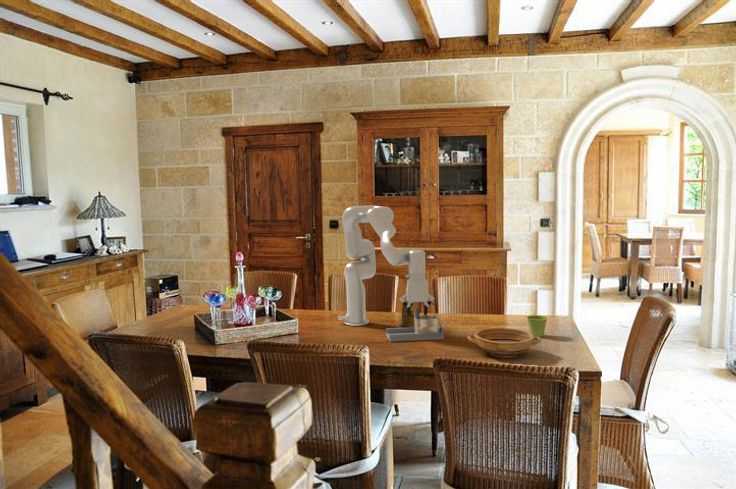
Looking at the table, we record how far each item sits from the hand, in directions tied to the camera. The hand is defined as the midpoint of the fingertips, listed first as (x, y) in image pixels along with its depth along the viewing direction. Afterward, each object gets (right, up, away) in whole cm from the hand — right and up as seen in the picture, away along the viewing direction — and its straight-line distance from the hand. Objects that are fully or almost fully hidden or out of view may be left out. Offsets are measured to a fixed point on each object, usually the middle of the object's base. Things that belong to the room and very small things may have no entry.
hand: (417, 315), depth 266 cm
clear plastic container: (+5, -9, +1) cm, 10 cm away
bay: (-1, -10, +1) cm, 10 cm away
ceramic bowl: (+33, -13, -28) cm, 45 cm away
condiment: (-4, -9, +21) cm, 23 cm away
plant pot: (+55, -10, -1) cm, 56 cm away
